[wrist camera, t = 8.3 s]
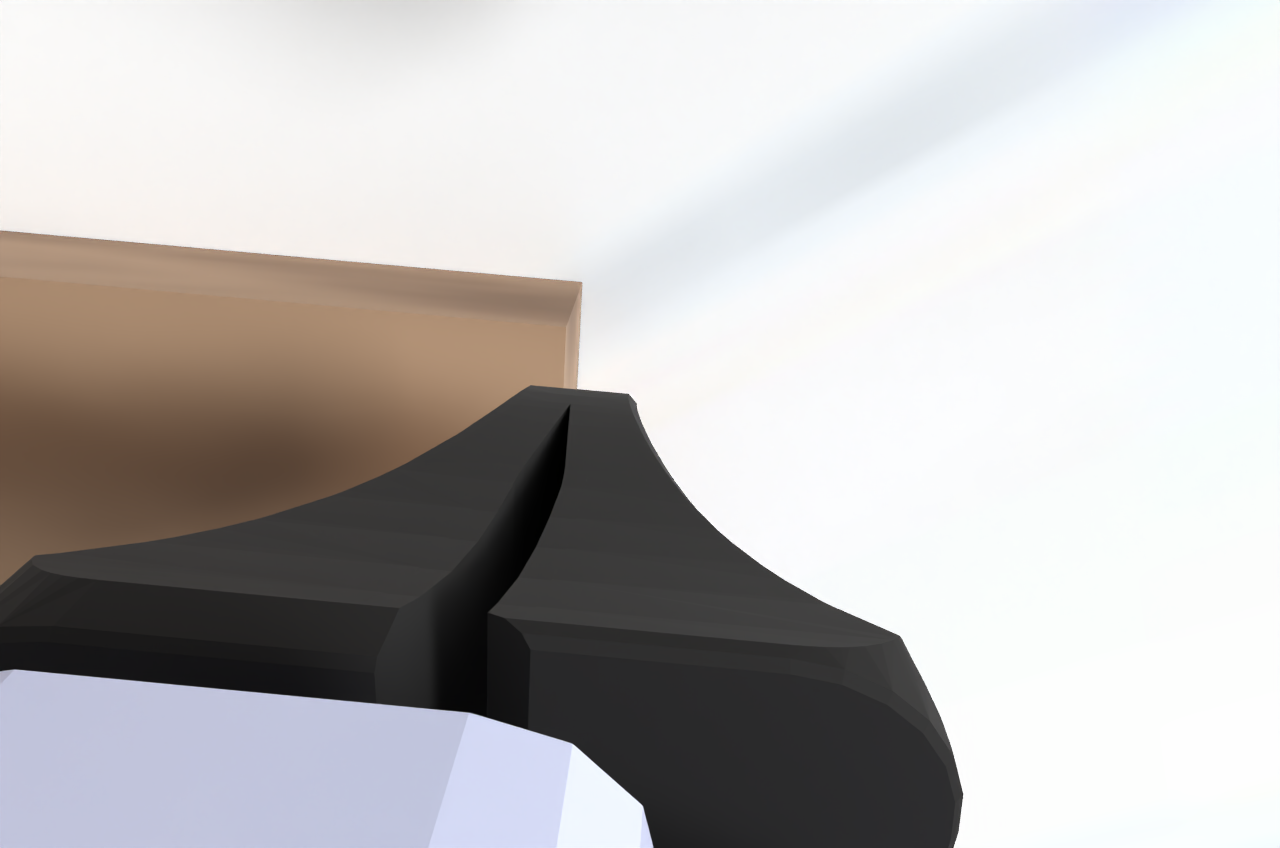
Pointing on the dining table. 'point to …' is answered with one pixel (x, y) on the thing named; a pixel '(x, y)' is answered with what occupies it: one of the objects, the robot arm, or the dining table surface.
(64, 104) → the dining table surface
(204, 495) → the board
